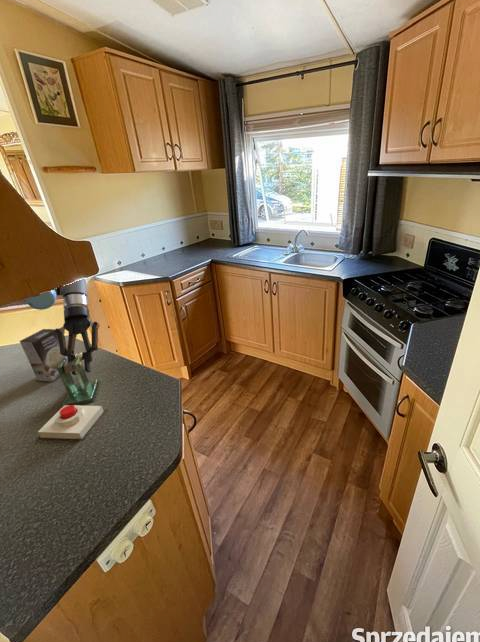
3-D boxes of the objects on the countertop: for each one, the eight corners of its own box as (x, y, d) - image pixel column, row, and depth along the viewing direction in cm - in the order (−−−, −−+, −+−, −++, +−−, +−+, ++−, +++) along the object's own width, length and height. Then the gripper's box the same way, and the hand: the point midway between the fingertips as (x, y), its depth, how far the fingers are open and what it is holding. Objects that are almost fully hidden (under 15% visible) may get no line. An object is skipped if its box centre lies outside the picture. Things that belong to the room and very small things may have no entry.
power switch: (71, 388, 97) (58, 356, 92) (98, 382, 100) (86, 351, 94) (63, 408, 89) (47, 374, 83) (92, 401, 91) (79, 368, 86)
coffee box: (52, 382, 101) (33, 342, 94) (37, 380, 102) (18, 341, 95) (73, 366, 109) (57, 329, 102) (59, 365, 110) (42, 328, 104)
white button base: (40, 437, 79) (34, 427, 77) (66, 410, 88) (62, 400, 86) (81, 439, 78) (76, 428, 76) (103, 411, 87) (99, 401, 85)
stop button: (58, 419, 80) (56, 414, 79) (68, 409, 83) (65, 405, 82) (70, 419, 80) (68, 414, 79) (79, 410, 83) (77, 405, 82)
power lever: (77, 360, 100) (74, 351, 99) (87, 357, 101) (85, 349, 100) (64, 374, 88) (61, 365, 87) (76, 372, 89) (73, 362, 88)
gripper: (104, 309, 110) (111, 369, 103) (55, 317, 105) (58, 380, 98) (97, 301, 103) (104, 364, 96) (44, 309, 99) (47, 377, 91)
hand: (81, 372), depth 97 cm, fingers closed on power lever, 3 cm apart
